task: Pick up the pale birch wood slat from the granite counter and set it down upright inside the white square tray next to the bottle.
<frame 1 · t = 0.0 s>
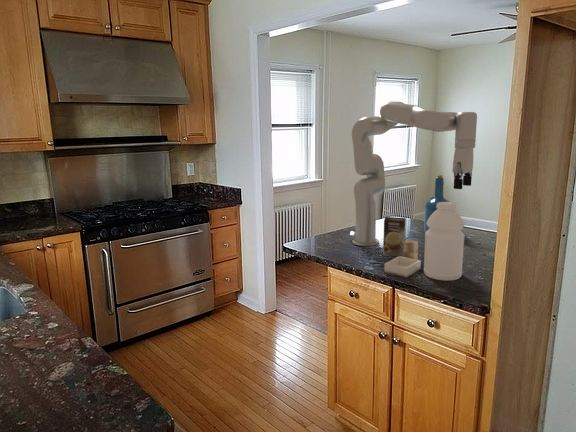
hand: (462, 187, 173), 31 cm above the countertop, tool pointing down, fingers open, 9 cm apart
slat: (410, 262, 181), on the countertop
wine bottle: (436, 232, 223), on the countertop
white square tray: (402, 270, 172), on the countertop
coffee box: (393, 254, 192), on the countertop
bottle: (442, 275, 166), on the countertop
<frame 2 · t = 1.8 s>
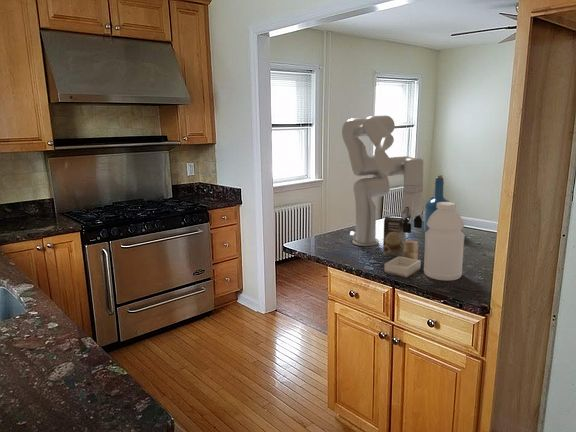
hand: (412, 230, 177), 14 cm above the countertop, tool pointing down, fingers open, 9 cm apart
nothing on the countertop moved.
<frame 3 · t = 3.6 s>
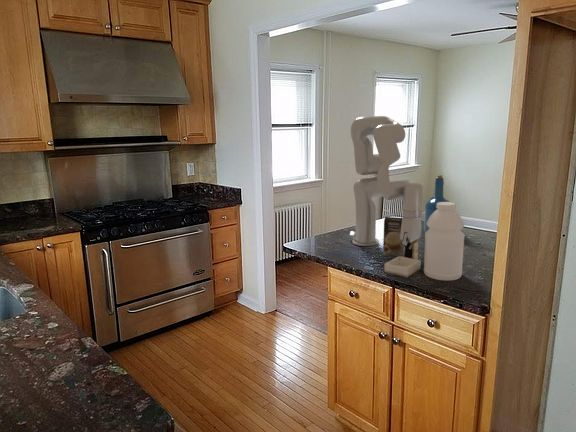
hand: (410, 255, 180), 3 cm above the countertop, tool pointing down, fingers closed on slat, 3 cm apart
slat: (410, 262, 181), on the countertop, touching gripper
everything else where it was.
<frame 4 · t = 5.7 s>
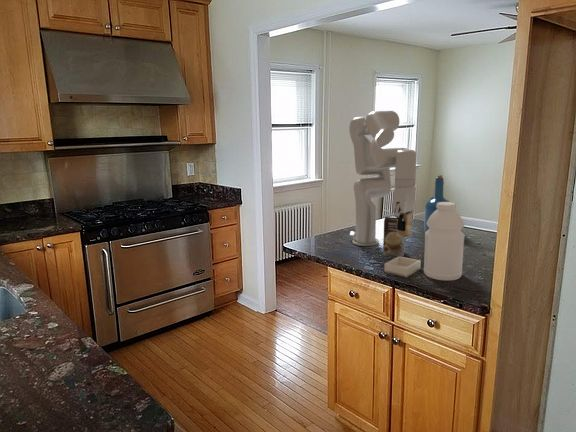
hand: (403, 228, 168), 17 cm above the countertop, tool pointing down, fingers closed on slat, 3 cm apart
slat: (404, 235, 168), point 14 cm above the countertop, touching gripper
everything else where it was.
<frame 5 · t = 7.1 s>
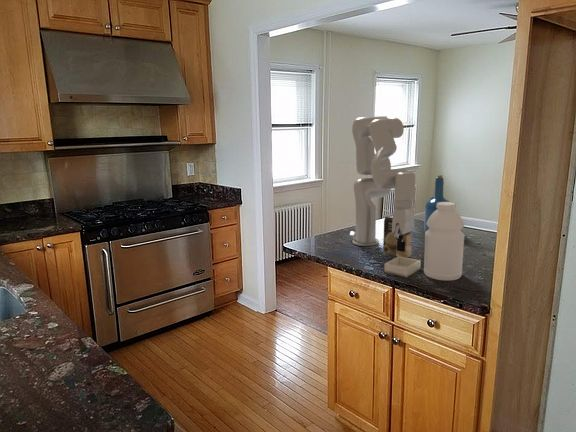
hand: (403, 249, 169), 9 cm above the countertop, tool pointing down, fingers closed on slat, 3 cm apart
slat: (403, 255, 170), point 6 cm above the countertop, touching gripper
everything else where it was.
when the fingers open (4 cm above the countertop, at t = 8.2 s): slat drops 1 cm, resting on white square tray.
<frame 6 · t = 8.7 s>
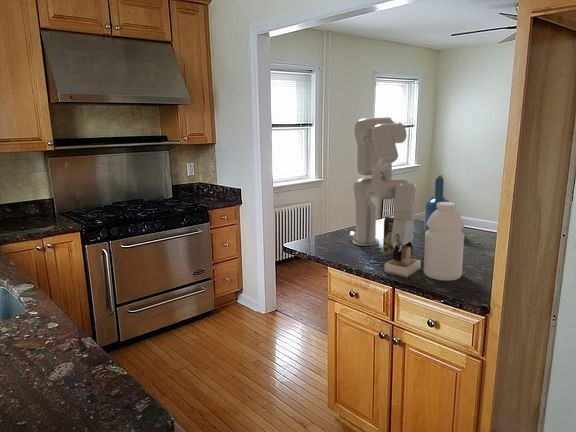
hand: (402, 257, 170), 5 cm above the countertop, tool pointing down, fingers open, 8 cm apart
slat: (403, 268, 171), point 1 cm above the countertop, touching white square tray
everything else where it was.
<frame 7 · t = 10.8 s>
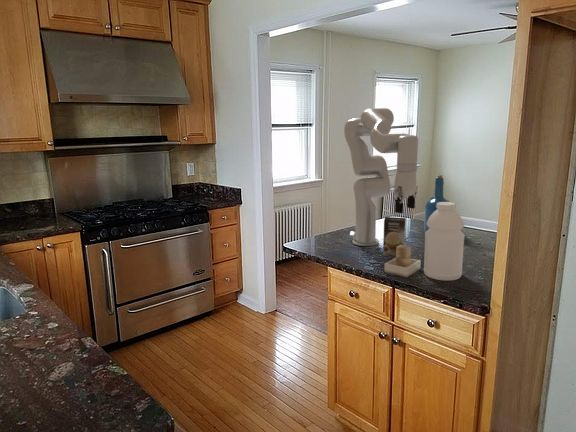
hand: (404, 210, 172), 23 cm above the countertop, tool pointing down, fingers open, 9 cm apart
nothing on the countertop moved.
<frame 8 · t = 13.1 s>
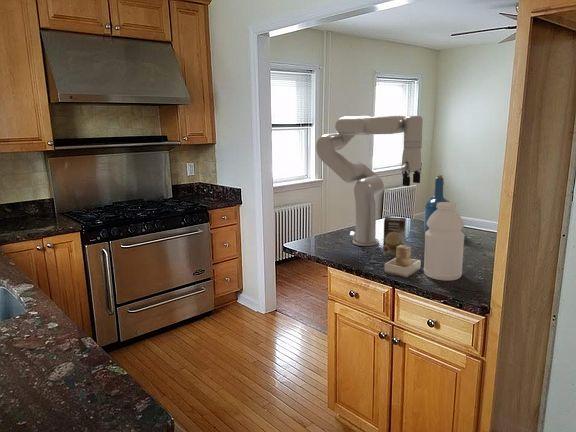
hand: (411, 184, 190), 30 cm above the countertop, tool pointing down, fingers open, 9 cm apart
nothing on the countertop moved.
at the end: slat inside the target area on the white square tray (0.2 cm from its centre), point 0.8 cm above the white square tray's base; slat tilted 0°; the gripper is holding nothing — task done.
